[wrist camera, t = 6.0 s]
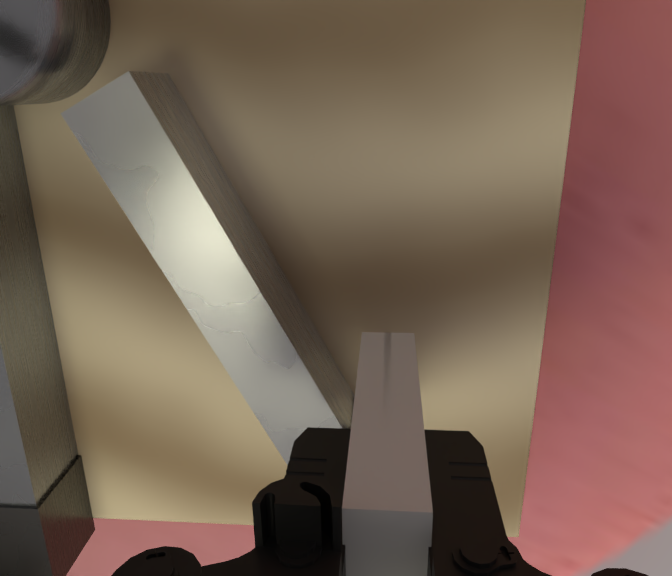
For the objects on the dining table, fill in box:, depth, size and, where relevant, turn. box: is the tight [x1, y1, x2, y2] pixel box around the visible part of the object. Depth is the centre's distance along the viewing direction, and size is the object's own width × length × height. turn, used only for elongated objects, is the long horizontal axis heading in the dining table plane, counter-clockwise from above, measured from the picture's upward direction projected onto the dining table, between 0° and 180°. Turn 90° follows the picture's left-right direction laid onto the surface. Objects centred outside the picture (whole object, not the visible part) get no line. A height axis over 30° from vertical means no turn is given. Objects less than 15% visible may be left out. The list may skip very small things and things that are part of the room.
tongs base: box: [0, 0, 111, 576], centre depth 15 cm, size 18×5×3 cm, turn 0°
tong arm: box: [61, 71, 355, 465], centre depth 14 cm, size 18×4×4 cm, turn 28°
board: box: [14, 0, 586, 537], centre depth 16 cm, size 19×17×1 cm
